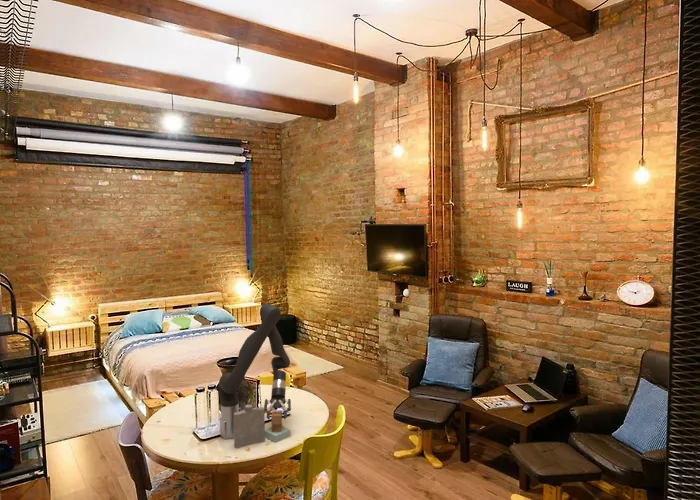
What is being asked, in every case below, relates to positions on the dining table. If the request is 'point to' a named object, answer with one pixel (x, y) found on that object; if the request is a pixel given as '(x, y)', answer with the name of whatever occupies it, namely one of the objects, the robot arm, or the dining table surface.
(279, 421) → the walnut block
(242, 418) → the hip flask
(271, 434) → the plinth block
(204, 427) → the dining table surface
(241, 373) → the robot arm
